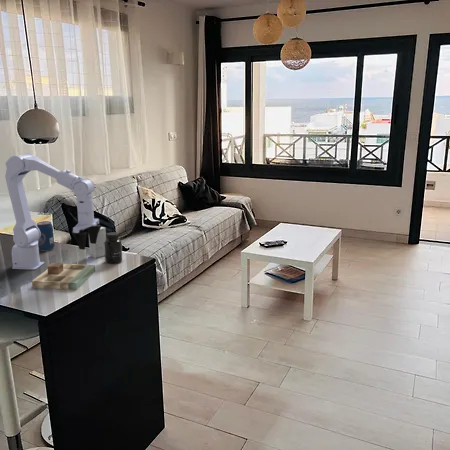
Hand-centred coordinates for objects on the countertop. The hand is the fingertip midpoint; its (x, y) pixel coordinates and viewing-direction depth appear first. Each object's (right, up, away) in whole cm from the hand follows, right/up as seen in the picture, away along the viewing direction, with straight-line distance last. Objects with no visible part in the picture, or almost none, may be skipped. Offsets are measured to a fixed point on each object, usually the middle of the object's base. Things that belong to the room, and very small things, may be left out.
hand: (87, 246), depth 171 cm
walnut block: (-10, -9, -7) cm, 15 cm away
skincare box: (-1, -5, +20) cm, 21 cm away
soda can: (-27, -3, +28) cm, 39 cm away
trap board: (-6, -12, -6) cm, 15 cm away
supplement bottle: (+7, -7, +12) cm, 16 cm away
